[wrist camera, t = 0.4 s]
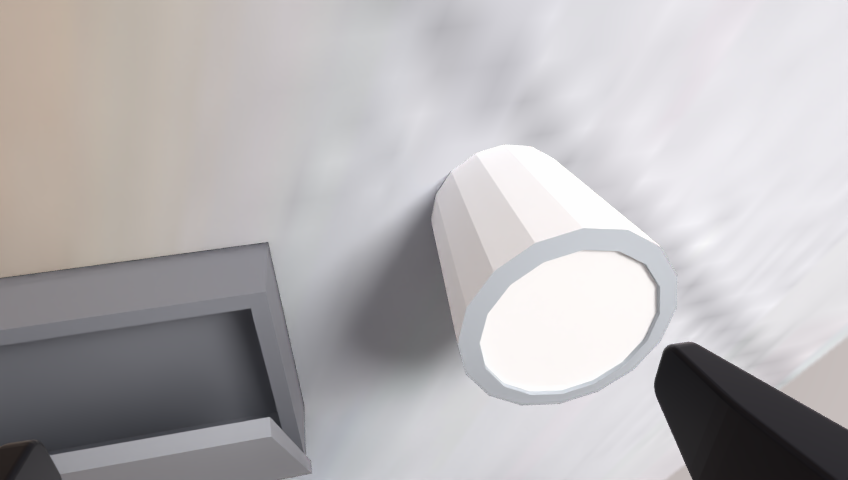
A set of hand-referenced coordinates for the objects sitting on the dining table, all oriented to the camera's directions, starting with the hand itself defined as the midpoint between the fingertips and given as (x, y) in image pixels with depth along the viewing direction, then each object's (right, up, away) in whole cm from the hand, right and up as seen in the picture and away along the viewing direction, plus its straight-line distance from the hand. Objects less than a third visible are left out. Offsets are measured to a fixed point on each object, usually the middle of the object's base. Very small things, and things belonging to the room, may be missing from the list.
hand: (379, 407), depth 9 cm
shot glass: (+4, +4, +15) cm, 16 cm away
